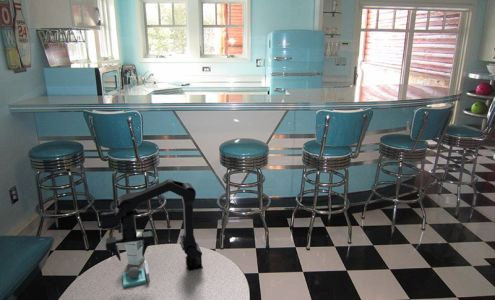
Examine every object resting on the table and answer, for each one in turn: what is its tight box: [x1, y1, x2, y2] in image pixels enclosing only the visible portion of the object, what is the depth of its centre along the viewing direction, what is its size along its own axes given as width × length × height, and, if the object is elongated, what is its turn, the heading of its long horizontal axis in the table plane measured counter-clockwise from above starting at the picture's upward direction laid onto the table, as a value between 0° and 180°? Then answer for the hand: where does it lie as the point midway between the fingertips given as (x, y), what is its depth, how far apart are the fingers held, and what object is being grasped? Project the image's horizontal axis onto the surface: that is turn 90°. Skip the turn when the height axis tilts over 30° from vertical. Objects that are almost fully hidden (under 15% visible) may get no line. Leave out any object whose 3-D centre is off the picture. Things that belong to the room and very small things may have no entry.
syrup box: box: [124, 230, 146, 266], centre depth 161 cm, size 6×6×14 cm
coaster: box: [122, 267, 147, 288], centre depth 150 cm, size 9×9×1 cm
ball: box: [127, 266, 140, 279], centre depth 149 cm, size 5×5×5 cm
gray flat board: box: [143, 259, 151, 283], centre depth 153 cm, size 1×11×4 cm, turn 20°
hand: (131, 258), depth 147 cm, fingers open, 9 cm apart
